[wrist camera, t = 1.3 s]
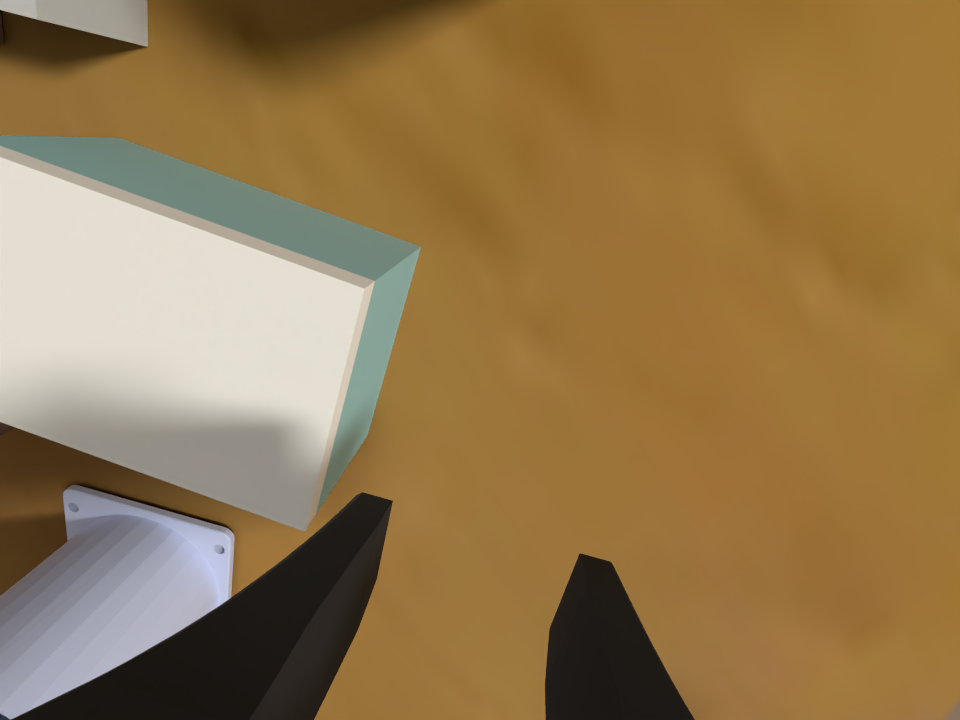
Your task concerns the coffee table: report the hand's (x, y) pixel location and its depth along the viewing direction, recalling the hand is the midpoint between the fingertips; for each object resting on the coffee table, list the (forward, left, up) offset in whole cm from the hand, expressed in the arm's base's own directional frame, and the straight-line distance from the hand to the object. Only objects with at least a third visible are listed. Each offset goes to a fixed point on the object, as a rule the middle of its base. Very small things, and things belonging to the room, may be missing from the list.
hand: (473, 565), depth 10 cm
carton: (0, +10, -10) cm, 14 cm away
